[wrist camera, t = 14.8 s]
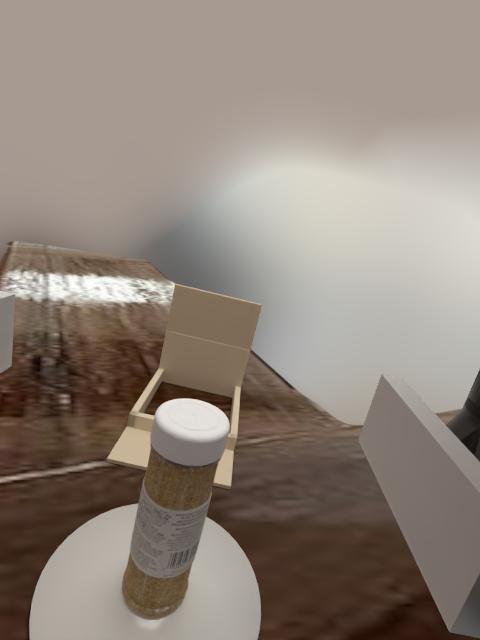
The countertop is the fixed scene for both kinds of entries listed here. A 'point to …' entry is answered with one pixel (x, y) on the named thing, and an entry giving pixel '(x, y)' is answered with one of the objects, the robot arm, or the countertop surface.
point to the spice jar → (173, 503)
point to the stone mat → (108, 599)
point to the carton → (196, 367)
